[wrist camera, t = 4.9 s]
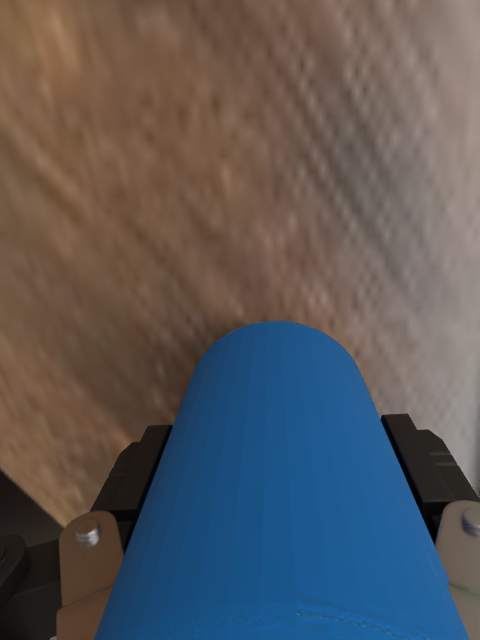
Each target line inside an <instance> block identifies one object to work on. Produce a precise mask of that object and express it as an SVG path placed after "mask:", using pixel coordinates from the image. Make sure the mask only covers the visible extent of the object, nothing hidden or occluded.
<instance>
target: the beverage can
mask: <svg viewBox="0 0 480 640" xmlns="http://www.w3.org/2000/svg"><path fill="white" fill-rule="evenodd" d="M448 583H450V581H449V578H448V576H447V574H446V571H445V569H444V567H443V564H442V562H441V560H440V557H439V555H438V553H437V550H436V548H435V546H434V543H433V541H432V539H431V536H430V534H429V532H428V529H427V527H426V525H425V522H424V520H423V518H422V515H421V513H420V511H419V508H418V506H417V504H416V501H415V499H414V497H413V494H412V492H411V490H410V487H409V485H408V483H407V480H406V478H405V476H404V473H403V471H402V469H401V466H400V464H399V462H398V459H397V457H396V455H395V452H394V450H393V448H392V445H391V443H390V441H389V438H388V436H387V434H386V431H385V429H384V427H383V424H382V422H381V420H380V418H379V415H378V413H377V411H376V408H375V406H374V404H373V401H372V399H371V397H370V394H369V392H368V390H367V387H366V385H365V383H364V380H363V378H362V376H361V373H360V371H359V369H358V367H357V365H356V363H355V362H354V360H353V358H352V357H351V356H350V355H349V353H348V352H347V351H346V350H345V349H344V348H343V347H342V346H341V345H340V344H339V343H338V342H337V341H335V340H334V339H332V338H331V337H329V336H328V335H327V334H325V333H323V332H321V331H319V330H317V329H315V328H312V327H309V326H306V325H303V324H299V323H294V322H287V321H265V322H258V323H253V324H250V325H246V326H243V327H240V328H238V329H236V330H233V331H231V332H230V333H228V334H226V335H225V336H223V337H222V338H220V339H219V340H218V341H216V342H215V343H214V344H213V345H212V346H211V347H210V348H209V349H208V350H207V351H206V352H205V353H204V355H203V356H202V357H201V359H200V360H199V362H198V364H197V366H196V368H195V369H194V372H193V375H192V377H191V380H190V383H189V385H188V388H187V391H186V393H185V396H184V399H183V401H182V404H181V407H180V409H179V412H178V415H177V417H176V420H175V422H174V425H173V428H172V430H171V433H170V436H169V438H168V441H167V444H166V446H165V449H164V452H163V454H162V457H161V460H160V462H159V465H158V468H157V470H156V473H155V475H154V478H153V481H152V483H151V486H150V489H149V491H148V494H147V497H146V499H145V502H144V505H143V507H142V510H141V513H140V515H139V518H138V521H137V523H136V526H135V529H134V531H133V534H132V536H131V539H130V542H129V544H128V547H127V550H126V552H125V555H124V558H123V560H122V563H121V566H120V568H119V571H118V574H117V576H116V579H115V582H114V584H113V588H112V591H111V594H110V597H109V600H108V602H107V605H106V608H105V610H104V613H103V616H102V618H101V621H100V624H99V626H98V629H97V632H96V634H95V637H94V640H470V639H469V637H468V635H467V632H466V630H465V627H464V625H463V623H462V620H461V618H460V615H459V613H458V611H457V608H456V606H455V604H454V601H453V599H452V596H451V594H450V591H449V587H448ZM450 584H451V583H450Z"/></svg>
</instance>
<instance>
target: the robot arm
mask: <svg viewBox="0 0 480 640" xmlns="http://www.w3.org/2000/svg"><path fill="white" fill-rule="evenodd" d="M381 422H382V424H383V427H384V429H385V431H386V434H387V436H388V438H389V441H390V443H391V445H392V448H393V450H394V452H395V455H396V457H397V459H398V462H399V464H400V466H401V469H402V471H403V473H404V476H405V478H406V480H407V483H408V485H409V487H410V490H411V492H412V494H413V497H414V499H415V501H416V504H417V506H418V508H419V511H420V513H421V515H422V518H423V520H424V522H425V525H426V527H427V529H428V532H429V534H430V536H431V539H432V541H433V543H434V546H435V548H436V550H437V553H438V555H439V557H440V560H441V562H442V564H443V567H444V569H445V571H446V574H447V576H448V578H449V581H450V583H451V584H450V583H448V587H449V591H450V594H451V596H452V599H453V601H454V604H455V606H456V608H457V611H458V613H459V615H460V618H461V620H462V623H463V625H464V627H465V630H466V632H467V635H468V637H469V639H470V640H480V500H479V498H478V496H477V495H476V493H475V492H474V490H473V488H472V487H471V485H470V484H469V482H468V480H467V479H466V477H465V476H464V474H463V472H462V471H461V469H460V468H459V466H457V463H456V461H455V459H454V458H453V456H452V455H450V451H449V450H448V448H447V447H446V445H445V443H444V442H443V440H442V439H440V438H439V437H438V436H436V435H435V434H434V433H432V432H431V431H430V430H417V429H416V427H415V425H414V423H413V422H412V420H411V418H410V416H409V415H408V414H389V415H382V416H381ZM172 428H173V426H172V425H156V426H148V427H147V429H146V431H145V433H144V435H143V437H142V439H141V442H132V443H131V444H130V445H129V446H128V447H127V448H126V449H125V450H123V451H122V452H121V453H120V455H119V457H118V459H117V461H116V463H115V465H114V468H112V470H111V472H110V474H109V478H107V480H106V482H105V484H104V486H103V487H102V489H101V491H100V493H99V495H98V497H97V499H96V501H95V503H94V505H93V507H92V508H91V510H90V512H88V513H85V514H83V515H81V516H79V517H77V518H76V519H74V520H73V521H72V522H71V523H69V524H68V525H67V526H66V528H65V529H64V530H63V532H62V534H61V536H60V538H59V539H56V540H53V541H50V542H46V543H42V544H39V545H36V546H32V547H29V548H27V546H26V544H25V541H24V539H23V538H22V537H20V536H18V535H14V534H8V535H3V536H0V640H50V638H51V637H54V636H57V640H94V637H95V634H96V632H97V629H98V626H99V624H100V621H101V618H102V616H103V613H104V610H105V608H106V605H107V602H108V600H109V597H110V594H111V591H112V588H113V584H114V582H115V579H116V576H117V574H118V571H119V568H120V566H121V563H122V560H123V558H124V555H125V552H126V550H127V547H128V544H129V542H130V539H131V536H132V534H133V531H134V529H135V526H136V523H137V521H138V518H139V515H140V513H141V510H142V507H143V505H144V502H145V499H146V497H147V494H148V491H149V489H150V486H151V483H152V481H153V478H154V475H155V473H156V470H157V468H158V465H159V462H160V460H161V457H162V454H163V452H164V449H165V446H166V444H167V441H168V438H169V436H170V433H171V430H172Z"/></svg>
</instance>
